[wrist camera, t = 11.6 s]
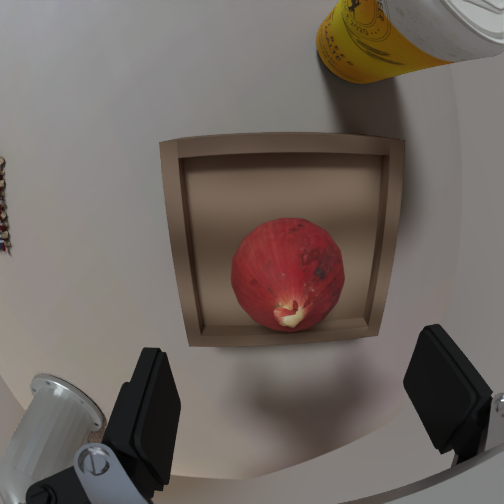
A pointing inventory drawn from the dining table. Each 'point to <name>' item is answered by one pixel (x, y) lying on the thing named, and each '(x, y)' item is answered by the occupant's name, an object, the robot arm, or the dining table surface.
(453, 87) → the dining table surface
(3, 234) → the woven mat
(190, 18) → the dining table surface
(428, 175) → the dining table surface
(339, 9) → the beer can
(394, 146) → the walnut tray
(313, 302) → the pomegranate
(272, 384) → the dining table surface
